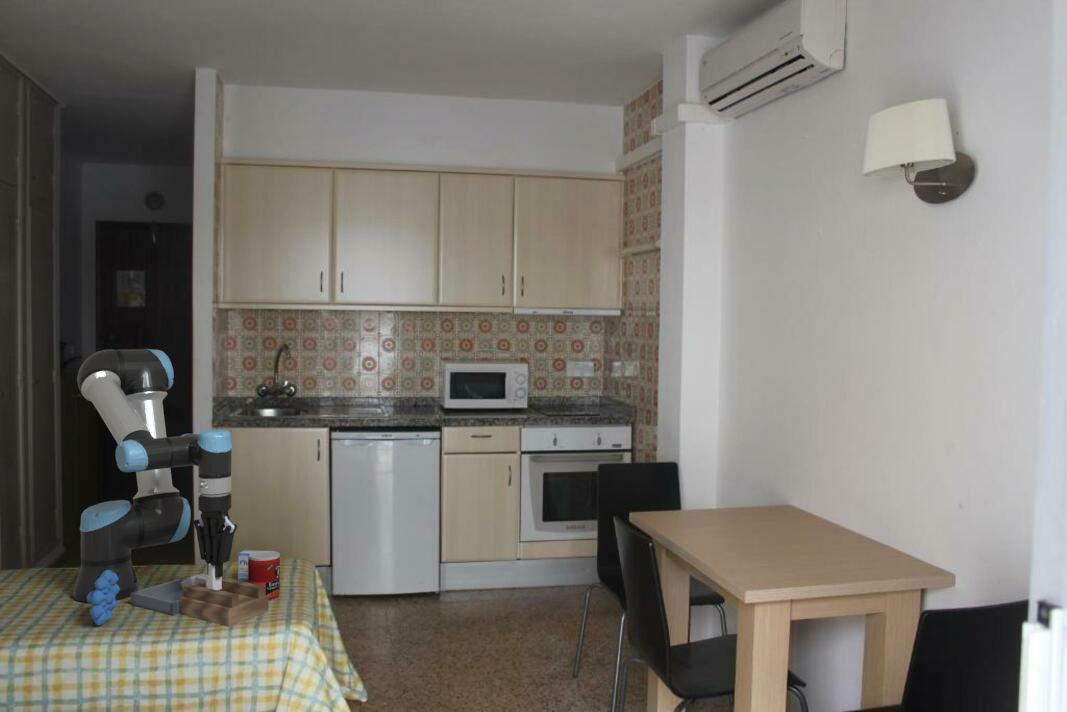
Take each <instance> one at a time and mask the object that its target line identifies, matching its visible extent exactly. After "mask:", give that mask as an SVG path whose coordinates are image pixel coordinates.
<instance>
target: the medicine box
mask: <svg viewBox="0 0 1067 712" xmlns="http://www.w3.org/2000/svg"><path fill="white" fill-rule="evenodd" d="M258 551H259V550H254V549H244V550H242V551H240V552H239V553H238V557H237V558H238V559H237V560H238V561H237V565H238V566H237V568H238V569H237V570H238V574H237V581H242V582H247V583H248V556H249V554H251V553H254V552H258Z"/></svg>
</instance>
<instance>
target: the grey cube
mask: <svg viewBox="0 0 1067 712" xmlns="http://www.w3.org/2000/svg"><path fill="white" fill-rule="evenodd" d="M195 585H196V586H200V587H205V588H209V576H208V574H207V573H206V574H205V573H204V575H201V576H198V577H195ZM218 591H220V590H218Z"/></svg>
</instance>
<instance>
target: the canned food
mask: <svg viewBox="0 0 1067 712" xmlns="http://www.w3.org/2000/svg"><path fill="white" fill-rule="evenodd" d="M257 551H258V552H254V553H251V554H249V556H248V583H251V584H256V585H261V586H265V595H268V601H271V600H272V599H273V600H275V599H278V597H280V594H281V555H280V552H278V551H275V550H257ZM273 600H272V601H273Z"/></svg>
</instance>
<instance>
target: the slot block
mask: <svg viewBox="0 0 1067 712" xmlns="http://www.w3.org/2000/svg"><path fill="white" fill-rule="evenodd" d="M268 612H269V600H268V595H265V586H261V585H256V584H251V583H247V582H242V581H238V579H233V578H227V577H223V576H222V589H220V591H218V590H213V589H209V588H205V587H200V586H196V585H191V584H190V585H186V586H183V597H181V598H180V614H179V615H182V616H186V617H189V618H193V619H197V620H202V621H204V622H205V621H206V622H209V623H212V624H213V623H214V624H218V625H221V626H226V627H231V626H233V625H236V624H239V623H242V622H244V621H247V620H249V619H252V618H255V616H256V617H259V616H261V615H263V613H264V614H266V613H268Z"/></svg>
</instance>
